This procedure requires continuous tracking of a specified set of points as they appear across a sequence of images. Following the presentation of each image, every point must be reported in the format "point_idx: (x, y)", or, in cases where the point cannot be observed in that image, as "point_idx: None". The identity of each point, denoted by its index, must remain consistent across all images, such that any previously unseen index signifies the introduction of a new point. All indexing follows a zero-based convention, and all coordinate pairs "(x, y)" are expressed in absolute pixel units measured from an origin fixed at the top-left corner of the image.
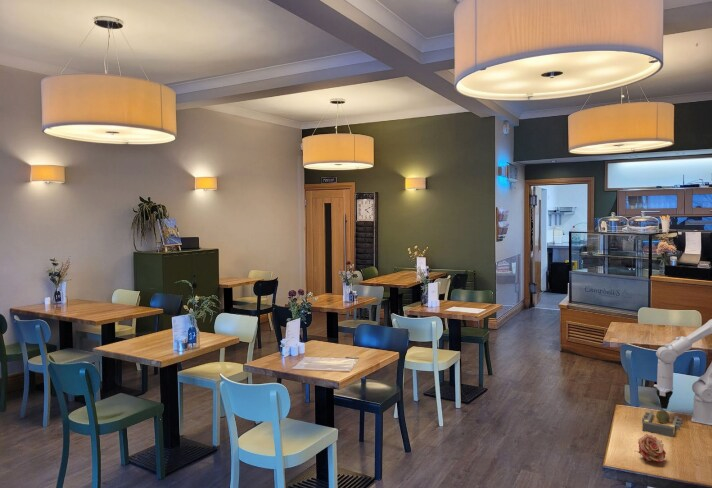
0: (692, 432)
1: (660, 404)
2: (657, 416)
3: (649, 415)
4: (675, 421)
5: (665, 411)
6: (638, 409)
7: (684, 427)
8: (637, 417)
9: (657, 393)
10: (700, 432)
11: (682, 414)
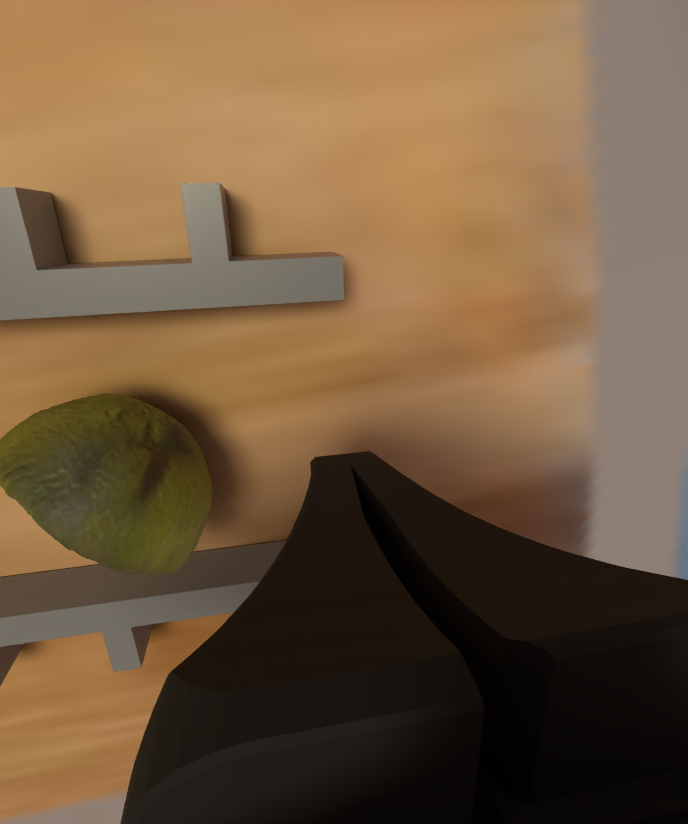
0: (49, 729)
1: (310, 484)
2: (2, 437)
3: (59, 284)
4: (100, 624)
5: (128, 568)
6: (499, 9)
7: (146, 650)
8: (45, 64)
9: (148, 727)
10: (116, 765)
11: (565, 542)
